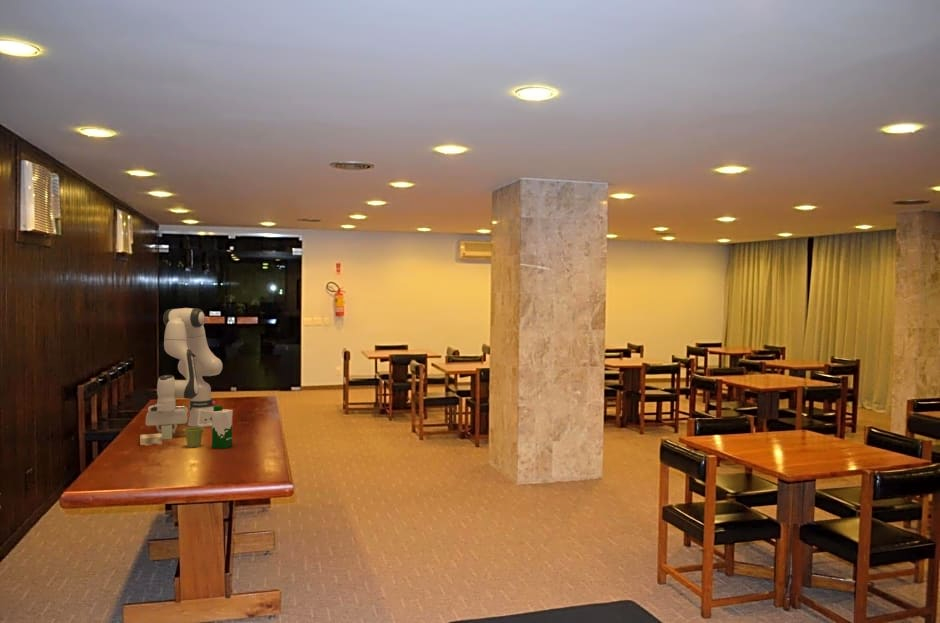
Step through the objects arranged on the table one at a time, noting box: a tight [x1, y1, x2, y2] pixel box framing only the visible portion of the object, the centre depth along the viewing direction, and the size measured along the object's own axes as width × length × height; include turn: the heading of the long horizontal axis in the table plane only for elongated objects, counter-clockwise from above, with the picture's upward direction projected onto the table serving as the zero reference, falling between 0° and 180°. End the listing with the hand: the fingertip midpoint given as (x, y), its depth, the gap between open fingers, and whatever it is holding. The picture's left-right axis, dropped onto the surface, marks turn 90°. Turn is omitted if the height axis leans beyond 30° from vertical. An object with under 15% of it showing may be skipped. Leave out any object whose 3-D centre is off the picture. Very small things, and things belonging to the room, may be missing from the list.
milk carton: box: [211, 405, 234, 450], centre depth 348 cm, size 9×9×20 cm
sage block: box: [160, 424, 173, 440], centre depth 370 cm, size 5×5×7 cm
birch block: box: [139, 432, 163, 446], centre depth 358 cm, size 10×10×4 cm
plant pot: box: [183, 426, 205, 448], centre depth 350 cm, size 9×9×9 cm
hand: (166, 433), depth 370 cm, fingers closed on sage block, 5 cm apart
